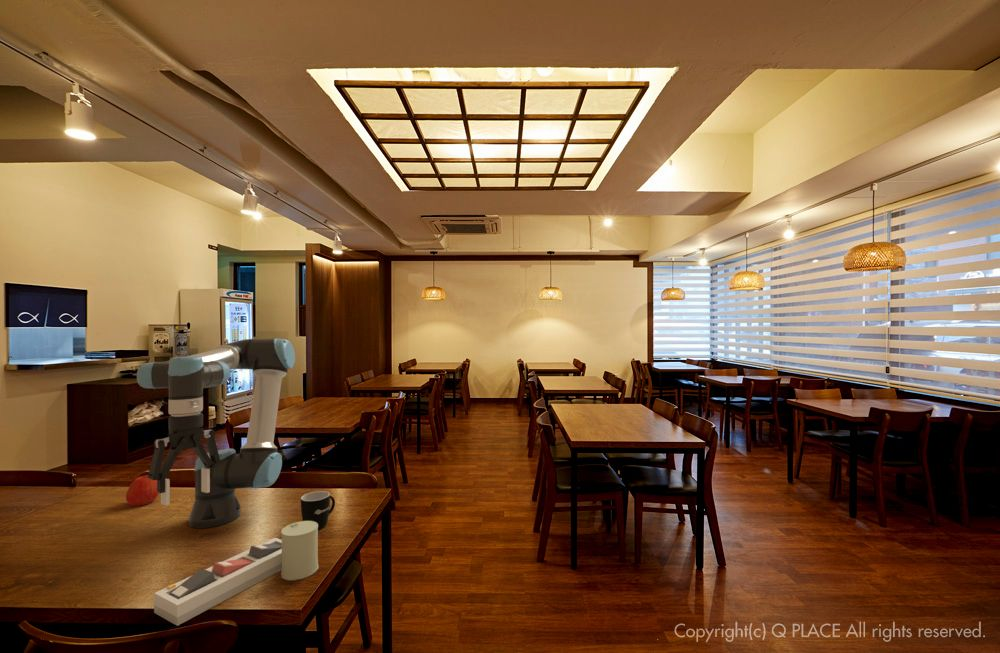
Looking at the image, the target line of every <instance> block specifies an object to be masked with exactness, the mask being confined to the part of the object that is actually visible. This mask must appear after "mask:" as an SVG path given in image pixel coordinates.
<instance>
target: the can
mask: <svg viewBox="0 0 1000 653" xmlns="http://www.w3.org/2000/svg"><path fill="white" fill-rule="evenodd" d="M318 530H319V529H318V524H317V523H316V522H314V521H303V520H302V521H301V520H299V521H296V522H293V523H290V524H288V525H285V526H284V527H283V528H282V529H281V530H280V535H281V538H280V539H281V540H282V570H281V573H280V576H281V578H282V579H284V580H285V581H297V580H303V579H306V578H307V577H311V576H312V575H313V574H315V573H316V572H317V571H318V569H319V555H318V554H319V550H318V548H319V547H318V543H319V542H318V541H319V540H318V539H319V538H318V537H319V531H318Z"/></svg>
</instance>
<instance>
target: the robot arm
mask: <svg viewBox="0 0 1000 653" xmlns="http://www.w3.org/2000/svg"><path fill="white" fill-rule="evenodd" d="M295 363H296V353H295V349H294V347H293V344H292V343H291V341H290V340H288V339H285V338H277V337H276V338H247V339H246V338H245V339H240V340H237V341H232V342H229V343H225V344H221V345H219V346H216V347H215V349H212V350H207V351H204V352H200V353H195V354H192V355H187V356H174V357H172V358H170V359H169V360H167V361H160V362H156V361H153V362H145V363H143V364H141V365H140V366H139V368H138V369H137V372H136V381H137V384H138V385H139V386H140V388H141V387H142V388H143V389H153V390H157V389H168V414H169V415H170V416H169V417H168V434H167V437H164V438H160V439H159V438H156V439H155V440H154V443H153V444H154V451H153V455H152V458H151V462H150V467H149V470H148V473H147V475H148V479H151V480H157V492H158V493H159V494H160V505H163V506H165V507H166V506H167V507H168V506H170V502H171V501H170V500H171V498H170V497H171V496H170V495H171V492H170V490H171V489H170V487H171V486H170V485H171V483H170V478H167V477H168V476H169V473H170V471H171V470H172V467H173V466H174V464H175V462H176V459H177V457H178V456H179V454H181V452H182V451H185V450H187V449H193V450H194V452H195V453H196V454H197V456H198V457H197V459H196V460H195V467H194V471H193V472H194V493H195V495H194V496H195V499H194V502H193V505H192V508H191V510H190V514H189V516H188V526H189V527H191V528H194V529H206V528H213V527H218V526H222V525H224V524H228V523H230V522H232V521H234V520H236V519H238V518H239V517H240V516H241V514H242V507H241V505H240V501H239V500H238V497H237V495H236V489H237V490H238V489H240V490H241V489H261V488H268V487H271V486H272V485H273V484H275V482H276V481H277V479H279V476H280V474H281V471H282V466H283V460H282V458H283V456H282V454H281V453H279V452H278V447H277V446H276V445H275V443H274V440H275V434H276V426H277V425H276V424H277V420H278V419H277V418H278V411H279V404H280V398H281V397H280V394H281V388H282V380H283V379H284V377H286V376H287V375H288V370H290V369H291V370H292V369H293V368H294V365H295ZM231 370H252V374H253V375H254V377H256V378H255V385H254V391H253V397H252V404H251V409H250V417H249V423H248V430H247V436H246V442H245V443H244V445H242V446H241V447H240V450H239V453H237V452H236V450H235V449H234V448H225V449H220V450H219V449H218V446H217V443H216V442H217V441H216V439H215V436H216V430H215V429H210V428H209V429H205V430H204V429H203V427H204V414H203V413H202V412H203V410H204V389H206V388H213V387H214V388H215V387H218V386H221V385H224V384H225V383H227V382H228V380H229V379H230V377H231ZM203 437H204V439H205V443H206V446H207V450H208V452H207V451H206V450H205V447H204V445H203V443H202V441H201V439H202V438H203ZM168 443H169V444H170V447H169V449H168V453H167V454H166V457H165V459H164V456H165V451H166V447H167V446H168ZM163 460H164V461H163Z"/></svg>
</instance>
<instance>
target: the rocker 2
mask: <svg viewBox="0 0 1000 653" xmlns="http://www.w3.org/2000/svg"><path fill="white" fill-rule="evenodd" d="M249 549H250V551H249V554H252V555H255V556H258V557H264V556H268V555H270V554H272V553H274V552H276V551H278V550H280V549H282V545H280V544H277V543H272V544H264V545H260V544H257V545H251V546H250V548H249Z"/></svg>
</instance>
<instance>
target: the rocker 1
mask: <svg viewBox="0 0 1000 653" xmlns="http://www.w3.org/2000/svg"><path fill="white" fill-rule="evenodd" d="M190 576H191V577H190ZM190 576H189V577H190V578H189V579H187V580H186V581H185V582H183V583H182V584H181V585H179V586H178V587H177V588H175V589H174V590H173V591H171V592H170V593H169V595H170V596H172V597H174V598H176V599H180V598H182V597H184V596H186V595H188V594H190V593H192V592H194V591H196V590H198V589H201V588H203V587H205V586H207V585H208V584H209V583H211V582H212V581H213V580H214V579H215V577H214V575H213V573H212V572H210V571H207V570H205V569H204V568H201V569H199V570H198V571H197V572H195V573H193V576H192V575H190Z"/></svg>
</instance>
